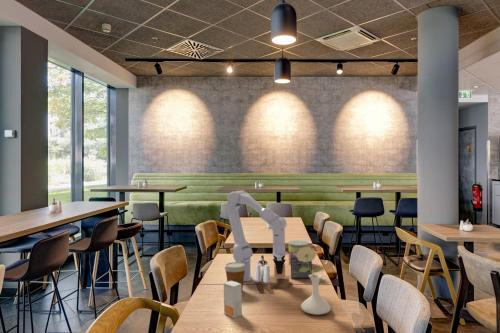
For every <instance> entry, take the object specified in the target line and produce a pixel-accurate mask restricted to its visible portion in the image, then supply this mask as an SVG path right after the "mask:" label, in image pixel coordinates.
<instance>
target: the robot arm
mask: <svg viewBox="0 0 500 333" xmlns="http://www.w3.org/2000/svg"><path fill="white" fill-rule="evenodd" d="M226 200H227V203H226V212H227V217H228V221H229V224H230V228H231V232H232V237H233V241H234V245H233V247H232V250H233V256H232V257H233V260H232V261H231V262H241V263H244V264H245V267H246V268H245V271H244V280H243V282H251V281H252V278H253V275H252V274H251V258H252V256H253V254H254V253H253V252H254V251H253V249H252V248H251V246H250V243H249V242H248V241H247V240H246V237H245V232H244V230H243V225H242V221H241V217H240V213H239V209H240V208H241V206H242V205H247V206H249V207H250V208H252V210H254V211H256V212H257V213H258V214H259V217H260V219H262V220H263V221H265V223H266V224H268V225H270V229H271V230H272V255H273V258H272V260H273V264H275V266H276V271H277V274H282V270H283V265H284V264H285V263H286V259H285V258H286V255H289V251H286V232H285V228H286V227H287V224H288V223H287V220H286V219H285V218H284V217H283V216H279V214H276V213H275V212H274V211H272V209H271V208H268V207H263V206H262V205H261V204H260V203H259V202H258V201H257V200H256V199H254V198H253V197H252V196H251V195H250V194H249V193H248V192H246V191H245V190H243V189H241V190H237V191H231V192H229V193H228V195H227V197H226Z"/></svg>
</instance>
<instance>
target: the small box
mask: <svg viewBox="0 0 500 333" xmlns="http://www.w3.org/2000/svg"><path fill="white" fill-rule="evenodd" d="M308 264H309V268H310V270H311V271H312V273H313V260H311V261H308V262H303V261H299V260H298V258H297V256H296V255H291V265H290V279H291V280H292V279H296V280H298V279H299V280H300V279H301V280H311V279H310V277H309V275H310V274H312V273H311V271H310V270H308V271H307V272H300V271H299V269H301V268H302V267H306V268H308ZM309 268H308V269H309Z"/></svg>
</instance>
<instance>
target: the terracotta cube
mask: <svg viewBox="0 0 500 333" xmlns="http://www.w3.org/2000/svg"><path fill="white" fill-rule="evenodd" d="M285 265H286V263H284V265H283V270H282V274H277V271H276V266H275V263H273V271H274V272H273V276H274V277H285V276H286V266H285Z"/></svg>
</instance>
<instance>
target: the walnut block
mask: <svg viewBox="0 0 500 333" xmlns="http://www.w3.org/2000/svg"><path fill="white" fill-rule="evenodd" d="M290 283H291V282H290V276H287V275H285V277H274V275H272V276H269V289H290Z"/></svg>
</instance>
